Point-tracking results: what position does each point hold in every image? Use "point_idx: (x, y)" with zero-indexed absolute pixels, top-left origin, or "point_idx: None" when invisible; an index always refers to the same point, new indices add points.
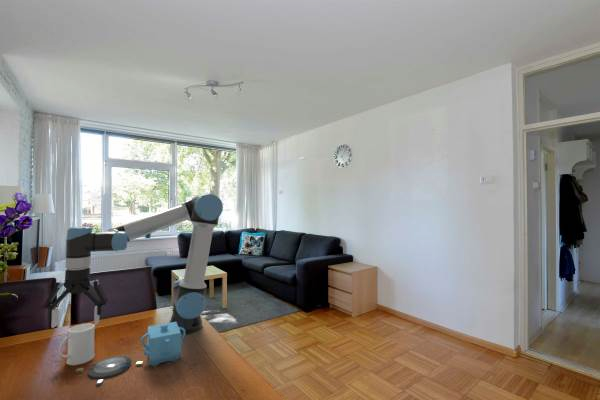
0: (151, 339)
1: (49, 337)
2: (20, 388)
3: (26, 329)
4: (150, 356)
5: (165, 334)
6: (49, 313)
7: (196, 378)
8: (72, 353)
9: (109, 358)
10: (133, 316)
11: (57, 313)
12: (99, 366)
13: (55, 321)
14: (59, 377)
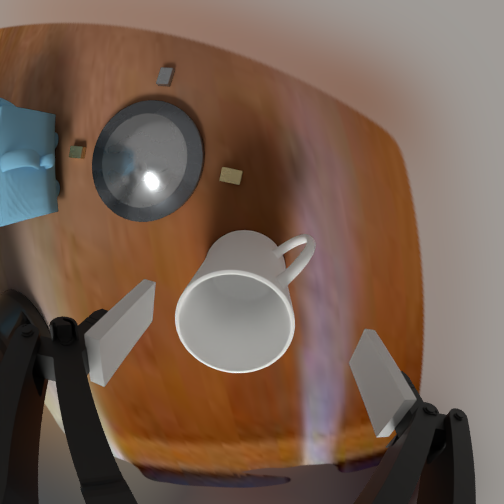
0: (1, 106)
1: (343, 430)
2: (375, 151)
3: (380, 461)
4: (38, 111)
5: None
6: (414, 389)
7: (15, 67)
8: (264, 248)
9: (149, 211)
10: (164, 457)
11: (370, 402)
12: (171, 161)
13: (367, 359)
14: (286, 163)
